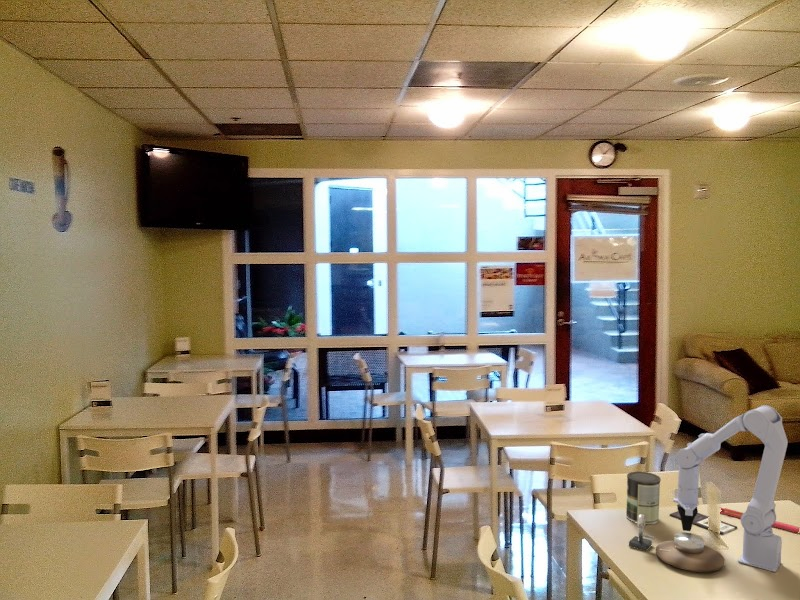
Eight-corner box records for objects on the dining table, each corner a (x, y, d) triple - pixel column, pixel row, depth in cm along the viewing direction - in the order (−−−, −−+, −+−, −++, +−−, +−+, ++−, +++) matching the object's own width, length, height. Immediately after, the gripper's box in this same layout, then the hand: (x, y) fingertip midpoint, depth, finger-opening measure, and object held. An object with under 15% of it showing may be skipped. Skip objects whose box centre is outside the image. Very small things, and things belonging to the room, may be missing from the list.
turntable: (731, 555, 193) (732, 551, 193) (714, 578, 180) (714, 575, 179) (667, 537, 205) (667, 534, 205) (646, 558, 191) (646, 555, 191)
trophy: (656, 546, 201) (657, 515, 200) (650, 552, 197) (652, 520, 196) (635, 540, 205) (636, 510, 204) (628, 546, 201) (629, 515, 200)
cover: (707, 547, 196) (707, 537, 196) (699, 556, 190) (699, 546, 190) (678, 539, 202) (679, 530, 201) (669, 548, 195) (670, 538, 195)
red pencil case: (721, 513, 229) (716, 512, 226) (722, 507, 229) (717, 506, 226) (801, 534, 212) (797, 534, 209) (802, 527, 213) (798, 527, 209)
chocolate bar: (685, 508, 229) (737, 526, 214) (685, 511, 229) (737, 529, 214) (669, 514, 224) (721, 533, 209) (669, 516, 224) (721, 536, 209)
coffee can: (621, 519, 221) (622, 477, 220) (632, 510, 229) (633, 469, 228) (652, 527, 214) (654, 484, 213) (663, 517, 222) (665, 475, 221)
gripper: (672, 477, 213) (671, 519, 214) (675, 493, 200) (673, 537, 201) (697, 480, 211) (695, 522, 212) (701, 496, 197) (699, 541, 198)
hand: (686, 530), depth 206 cm, fingers closed
